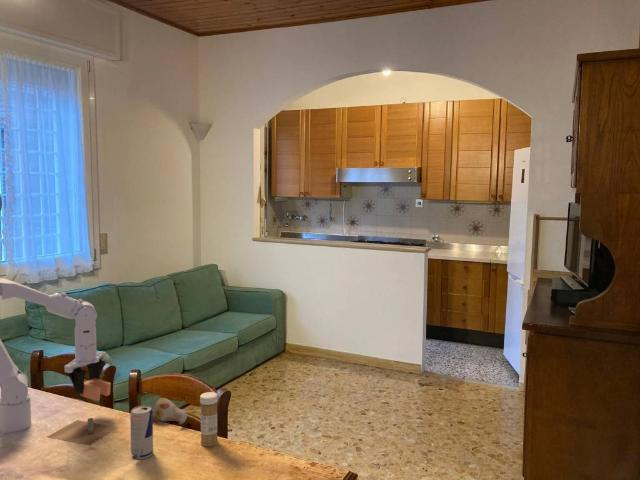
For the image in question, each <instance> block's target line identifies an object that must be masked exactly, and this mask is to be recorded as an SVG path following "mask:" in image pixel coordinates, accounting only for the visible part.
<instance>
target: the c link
mask: <svg viewBox="0 0 640 480" xmlns="http://www.w3.org/2000/svg"><path fill="white" fill-rule="evenodd" d="M111 386H112V382H110V381H106V380H102V379H100V378H99V379H96V378H94V379H91V380H90V379H89V380H86V381H84V389H83V393H79V396H80V397H83V398H86V399H88V400H92V401H96V402H97V401H99V400H101V395H103V396H105V397H108V396H110V395H111Z"/></svg>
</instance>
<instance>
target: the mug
mask: <svg viewBox="0 0 640 480" xmlns="http://www.w3.org/2000/svg"><path fill="white" fill-rule="evenodd" d="M152 411H153V422H177V423H176V425H182V424H184V423H185V422H186V420H187V419H188V413H187V411H186V410H184V409H182V408H179V407H178V406H177V405H175V404H174V403H173V401H171V400H169V399H168V398H166V397H160V398H159V399H158V400H157V401H156V402H155V404H154V407H153V409H152Z"/></svg>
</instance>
